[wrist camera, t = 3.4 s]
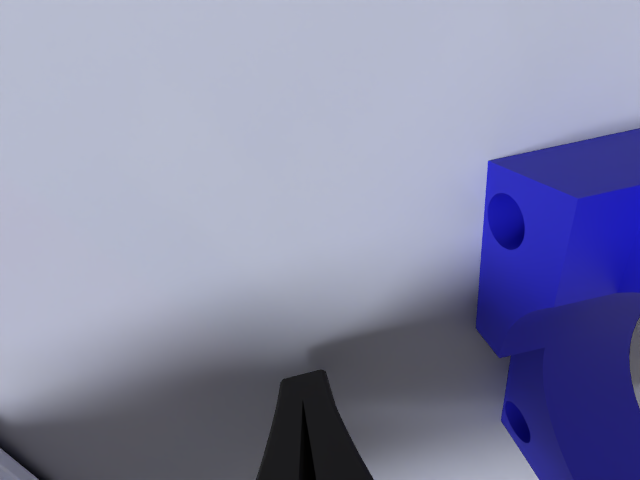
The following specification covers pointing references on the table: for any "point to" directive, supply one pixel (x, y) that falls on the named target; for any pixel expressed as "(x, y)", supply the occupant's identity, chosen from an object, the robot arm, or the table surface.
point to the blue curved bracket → (566, 303)
